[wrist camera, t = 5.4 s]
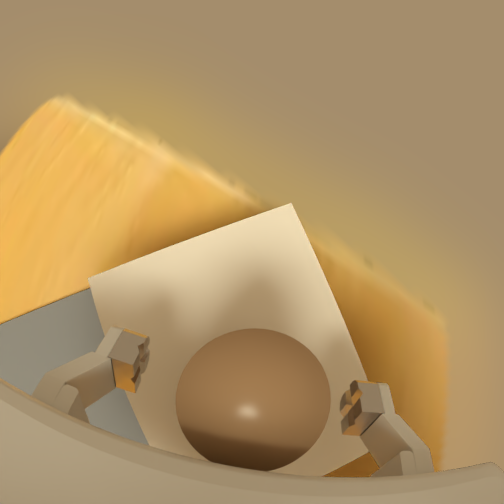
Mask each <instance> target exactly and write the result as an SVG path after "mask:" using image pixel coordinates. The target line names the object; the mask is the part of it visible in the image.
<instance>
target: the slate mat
mask: <svg viewBox="0 0 504 504" xmlns="http://www.w3.org/2000/svg"><path fill="white" fill-rule="evenodd" d="M104 337H105V335H104V332H103V329H102V326H101V323H100V320H99V317H98V313H97V310H96V306H95V303H94V299H93V296H92V292H91V289H90V288H89V289H87V290H84V291H82V292H79V293H76V294H74V295H71V296H69V297H66V298H64V299H61V300H59V301H57V302H54V303H52V304H49V305H47V306H44V307H42V308H39V309H37V310H34V311H32V312H29V313H27V314H25V315H22V316H20V317H17V318H15V319H13V320H10V321H8V322H5V323H3V324H1V325H0V378H1V379H3V380H5V381H6V382H8V383H10V384H11V385H13V386H15V387H16V388H18V389H20V390H22V391H23V392H25V393H27V394H29V395H30V396H31V395H32V393H33V392H34V390H35V389H36V387H37V385H38V384H39V382H40V381H41V379H42V378H43V376H44V375H45V373H47V372H49V371H51V370H53V369H55V368H57V367H59V366H62V365H64V364H66V363H68V362H70V361H72V360H74V359H77V358H79V357H81V356H83V355H85V354H87V353H89V352H91V351H92V352H95V351H96V350H97V348H98V346H99V345H100V343H101V342H102V340H103V338H104ZM85 411H86V414H87V417H88V419H89V422H90V424H91V425H93V426H96V427H98V428H101V429H103V430H106V431H109V432H111V433H114V434H117V435H119V436H122V437H125V438H128V439H131V440H133V441H136V442H139V443H142V444H146V445H149V443H148V441H147V439H146V437H145V435H144V433H143V431H142V429H141V427H140V425H139V422H138V420H137V418H136V416H135V414H134V411H133V409H132V407H131V404H130V402H129V400H128V397H127V395H126V392H125V390H123V389H120V388H117V387H116V388H115V389H114V390H112V391H111V392H109V393H108V394H106V395H105V396H103V397H102V398H100V399H99V400H98V401H96V402H95V403H93V404H92V405H90V406H89V407H87V408H86V409H85ZM149 446H150V445H149Z"/></svg>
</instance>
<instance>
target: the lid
mask: <svg viewBox="0 0 504 504" xmlns="http://www.w3.org/2000/svg"><path fill="white" fill-rule="evenodd" d="M88 281H89V285H90V289H91V292H92V296H93V299H94V303H95V306H96V310H97V313H98V317H99V320H100V323H101V326H102V329H103V332H104V335H106V333H107V332H108V330H109V329H110V327H111V326H112V325H117V326H119V327H122V328H126V329H128V330H131V331H134V332H137V333H140V334H143V335H146V336H149V339H150V343H149V345H148V347H147V348H148V349H149V350H150V356H149V362H148V365H147V368H146V370H145V372H144V373H142V374H141V382H140V384H139V387H138V389H137V391H136V393H133V392H130V391H126V390H125V392H126V395H127V397H128V400H129V402H130V404H131V407H132V409H133V411H134V414H135V416H136V418H137V420H138V422H139V425H140V427H141V429H142V431H143V433H144V435H145V437H146V439H147V441H148V443H149V445H150V446H152V447H155V448H159V449H162V450H165V451H169V452H173V453H176V454H180V455H184V456H188V457H192V458H196V459H200V460H205V461H209V462H214V463H219V464H224V465H229V466H234V467H240V468H246V469H252V470H259V471H266V472H274V473H283V474H293V475H305V476H321V477H322V476H324V475H326V474H328V473H330V472H332V471H334V470H336V469H338V468H340V467H342V466H344V465H346V464H348V463H350V462H352V461H353V460H355V459H357V458H359V457H361V456H362V455H364V454H366V453H368V452H369V451H368V449H367V447H366V446H365V444H364V443H363V441H362V440H361V438H360V436H353V435H342V429H341V420H342V419H343V418H344V417H343V416H342V414H341V413H340V401H341V398H342V396H343V394H344V393H345V391H348V390H350V384H351V383H352V381H354V380H360V381H368V379H367V377H366V374H365V372H364V369H363V366H362V364H361V361H360V359H359V356H358V354H357V351H356V349H355V346H354V344H353V341H352V339H351V336H350V334H349V331H348V329H347V327H346V324H345V322H344V319H343V317H342V315H341V312H340V310H339V307H338V305H337V303H336V300H335V298H334V296H333V293H332V291H331V289H330V286H329V284H328V282H327V280H326V277H325V275H324V273H323V271H322V268H321V266H320V264H319V262H318V259H317V257H316V255H315V253H314V250H313V248H312V246H311V244H310V242H309V240H308V237H307V235H306V233H305V231H304V229H303V227H302V224H301V222H300V220H299V218H298V216H297V214H296V212H295V210H294V208H293V206H292V203H290V204H287V205H284V206H281V207H278V208H275V209H272V210H269V211H266V212H263V213H261V214H258V215H255V216H252V217H249V218H246V219H243V220H241V221H238V222H235V223H232V224H229V225H227V226H224V227H221V228H218V229H216V230H213V231H210V232H207V233H205V234H202V235H199V236H196V237H194V238H191V239H188V240H186V241H183V242H180V243H177V244H175V245H172V246H169V247H167V248H164V249H161V250H159V251H156V252H154V253H151V254H148V255H146V256H143V257H141V258H138V259H135V260H133V261H130V262H128V263H125V264H122V265H120V266H117V267H115V268H112V269H110V270H107V271H105V272H102V273H100V274H97V275H95V276H92V277H90V278H88Z"/></svg>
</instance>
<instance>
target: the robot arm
mask: <svg viewBox="0 0 504 504" xmlns="http://www.w3.org/2000/svg"><path fill="white" fill-rule="evenodd" d="M149 343H150V339H149V336H146V335H143V334H140V333H137V332H134V331H131V330H128V329H126V328H122V327H119V326H117V325H112V326H111V327H110V329H109V330H108V332H107V333H106V335H105V337H104V338H103V340H102V342H101V343H100V345H99V346H98V348H97V350H96V351H95V352H92V351H91V352H89V353H87V354H85V355H83V356H81V357H79V358H77V359H74V360H72V361H70V362H68V363H66V364H64V365H62V366H59V367H57V368H55V369H53V370H51V371H49V372H47V373H45V375H44V376H43V378H42V379H41V381H40V382H39V384H38V385H37V387H36V389H35V390H34V392H33V393H32V395H31V396H30V395H29V394H27V393H25V392H23V391H22V390H20V389H18V388H16V387H15V386H13V385H11V384H10V383H8V382H6V381H5V380H3V379H1V378H0V504H504V472H503V470H502V469H501V468H499V466H497V465H496V464H495V463H492V462H489V463H483V464H479V465H474V466H469V467H464V468H458V469H452V470H446V471H439V472H434V467H433V463H432V458H431V453H430V449H429V448H428V447H427V446H426V444H425V443H424V442H423V441H422V440H421V439H420V438H419V437H418V436H417V434H416V433H415V432H414V431H413V430H412V429H411V428H410V427H409V426H408V424H407V423H406V422H405V421H404V420H403V419H402V418H401V417H400V416H399V414H395V409H394V405H393V401H392V396H391V392H390V388H389V385H388V384H387V383H378V382H370V381H360V380H354V381H352V383H351V384H350V390H348V391H345V393H344V394H343V396H342V398H341V401H340V413H341V414H342V416H343V417H344V418H343V419H342V420H341V429H342V435H353V436H360V438H361V440H362V441H363V443H364V444H365V446H366V447H367V449H368V451H369V452H370V454H371V455H372V457H373V458H374V460H375V461H376V463H377V465H378V466H379V468H380V469H378V470H377V471H376V472H374V473H373V474H372V475H371V476H370V477H321V476H305V475H293V474H283V473H274V472H266V471H259V470H252V469H246V468H240V467H234V466H229V465H224V464H219V463H214V462H209V461H205V460H200V459H196V458H192V457H188V456H184V455H180V454H176V453H173V452H169V451H165V450H162V449H159V448H155V447H152V446H149V445H146V444H142V443H139V442H136V441H133V440H131V439H128V438H125V437H122V436H119V435H117V434H114V433H111V432H109V431H106V430H103V429H101V428H98V427H96V426H93V425H91V424H90V422H89V419H88V417H87V414H86V411H85V409H86V408H87V407H89V406H90V405H92V404H93V403H95V402H96V401H98V400H99V399H100V398H102V397H103V396H105V395H106V394H108V393H109V392H111V391H112V390H114V389H115V388H116V387H117V388H120V389H123V390H126V391H130V392H133V393H136V391H137V389H138V387H139V384H140V382H141V374H142V373H144V372H145V370H146V368H147V365H148V362H149V356H150V350H149V349H148V348H147V347H148V345H149Z"/></svg>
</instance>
